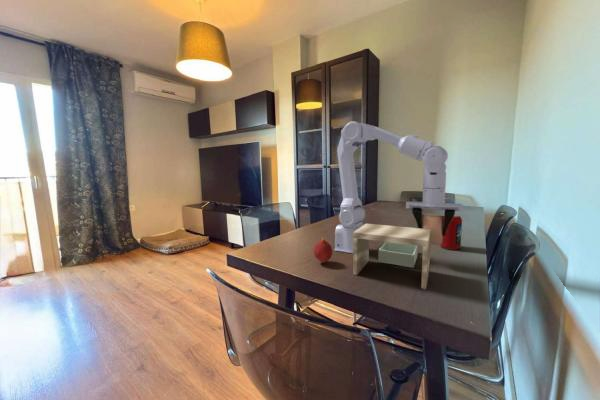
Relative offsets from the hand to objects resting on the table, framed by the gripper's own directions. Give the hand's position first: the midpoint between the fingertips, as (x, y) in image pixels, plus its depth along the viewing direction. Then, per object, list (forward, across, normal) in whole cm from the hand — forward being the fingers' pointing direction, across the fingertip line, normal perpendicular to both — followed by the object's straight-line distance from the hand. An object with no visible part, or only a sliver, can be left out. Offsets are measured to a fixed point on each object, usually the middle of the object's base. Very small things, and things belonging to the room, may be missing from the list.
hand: (431, 233), depth 73 cm
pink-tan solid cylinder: (+2, 0, 0) cm, 2 cm away
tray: (+9, -9, +2) cm, 13 cm away
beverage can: (+10, +5, +20) cm, 23 cm away
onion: (+10, -29, -14) cm, 34 cm away
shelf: (+9, -9, -12) cm, 18 cm away
